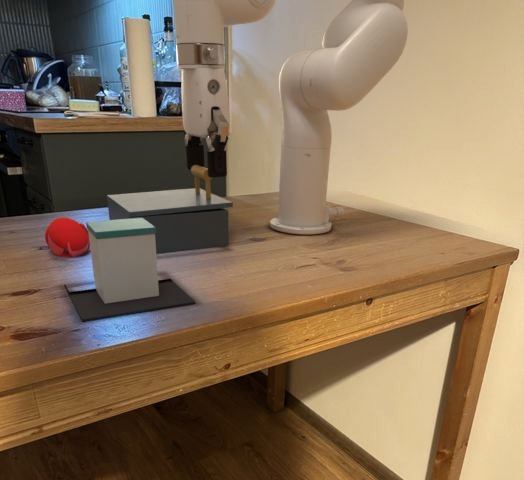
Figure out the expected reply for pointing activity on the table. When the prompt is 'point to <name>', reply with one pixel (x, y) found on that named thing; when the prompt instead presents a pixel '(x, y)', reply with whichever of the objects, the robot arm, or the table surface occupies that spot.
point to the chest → (184, 228)
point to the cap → (67, 237)
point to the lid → (171, 199)
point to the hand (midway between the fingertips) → (206, 172)
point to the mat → (128, 302)
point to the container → (124, 259)
